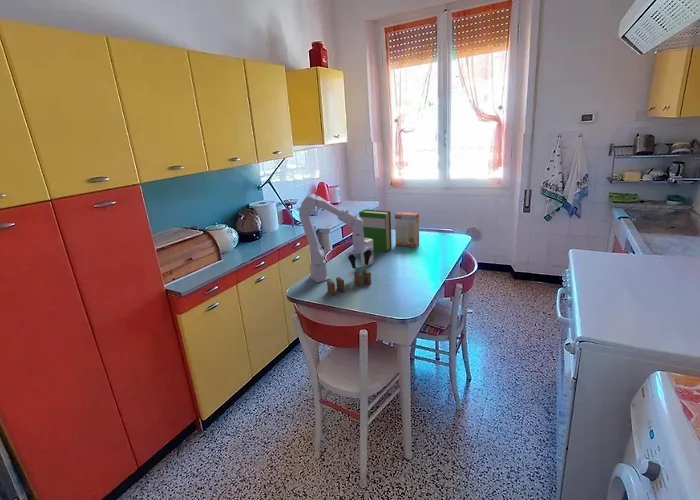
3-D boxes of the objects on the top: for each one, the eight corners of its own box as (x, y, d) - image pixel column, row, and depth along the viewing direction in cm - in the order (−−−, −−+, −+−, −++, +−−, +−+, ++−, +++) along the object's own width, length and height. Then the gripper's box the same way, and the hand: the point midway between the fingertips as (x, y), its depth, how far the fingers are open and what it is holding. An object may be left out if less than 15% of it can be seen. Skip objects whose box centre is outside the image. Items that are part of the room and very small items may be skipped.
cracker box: (419, 245, 230) (419, 212, 223) (416, 248, 225) (415, 215, 218) (399, 242, 237) (398, 211, 230) (395, 245, 233) (394, 213, 226)
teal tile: (355, 277, 189) (355, 266, 187) (364, 275, 192) (363, 264, 190) (357, 278, 188) (356, 267, 186) (365, 276, 190) (365, 265, 188)
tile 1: (332, 295, 171) (331, 284, 169) (327, 291, 176) (326, 280, 174) (335, 294, 172) (334, 283, 170) (330, 290, 176) (329, 279, 174)
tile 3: (359, 287, 178) (359, 275, 176) (354, 283, 182) (354, 272, 180) (362, 286, 179) (362, 275, 177) (357, 282, 183) (356, 271, 181)
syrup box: (365, 261, 210) (364, 237, 205) (374, 263, 206) (373, 238, 201) (359, 264, 206) (358, 240, 201) (368, 266, 202) (367, 241, 197)
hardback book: (391, 248, 227) (390, 211, 219) (386, 252, 221) (384, 214, 213) (367, 245, 236) (365, 209, 228) (361, 249, 231) (358, 212, 223)
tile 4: (368, 284, 180) (367, 273, 178) (363, 281, 184) (362, 270, 182) (371, 283, 181) (370, 272, 179) (366, 280, 185) (365, 269, 183)
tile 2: (341, 292, 174) (340, 281, 172) (337, 289, 178) (336, 277, 176) (344, 291, 174) (343, 280, 172) (339, 288, 178) (338, 276, 176)
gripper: (349, 246, 177) (351, 272, 181) (375, 240, 183) (376, 265, 188) (343, 242, 183) (345, 267, 187) (367, 236, 189) (369, 261, 194)
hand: (360, 266), depth 188 cm, fingers open, 7 cm apart
